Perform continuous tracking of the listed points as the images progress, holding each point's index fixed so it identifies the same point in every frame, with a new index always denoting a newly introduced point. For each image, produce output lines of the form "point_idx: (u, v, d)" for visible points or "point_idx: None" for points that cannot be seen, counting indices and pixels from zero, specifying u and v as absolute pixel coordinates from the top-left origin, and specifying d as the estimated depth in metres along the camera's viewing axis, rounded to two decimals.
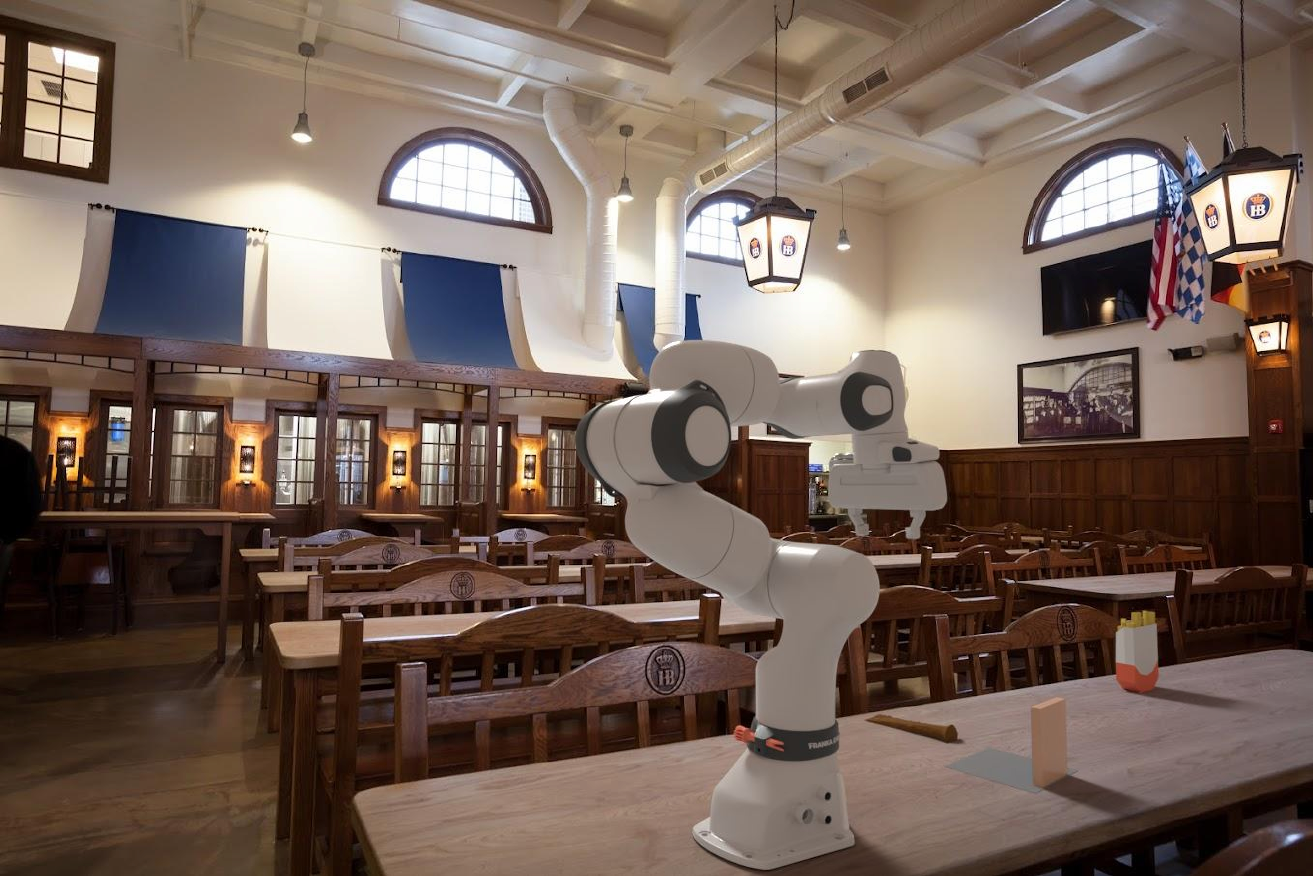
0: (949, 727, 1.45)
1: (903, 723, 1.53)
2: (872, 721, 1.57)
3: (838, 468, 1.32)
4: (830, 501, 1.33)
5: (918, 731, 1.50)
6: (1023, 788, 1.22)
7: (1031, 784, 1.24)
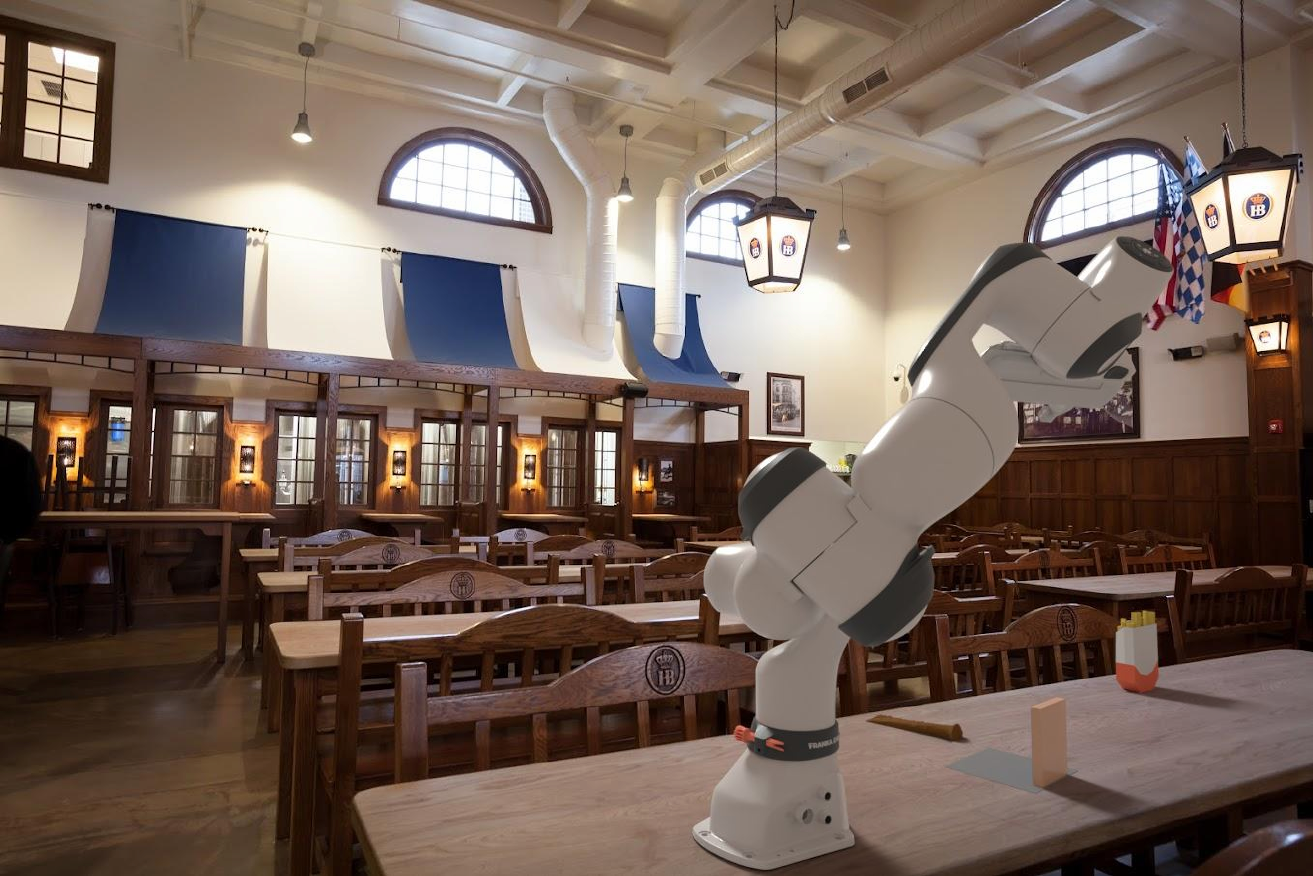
0: (955, 726, 1.46)
1: (906, 723, 1.53)
2: (874, 722, 1.57)
3: (1011, 366, 1.01)
4: None
5: (923, 730, 1.50)
6: (1023, 788, 1.22)
7: (1031, 784, 1.24)
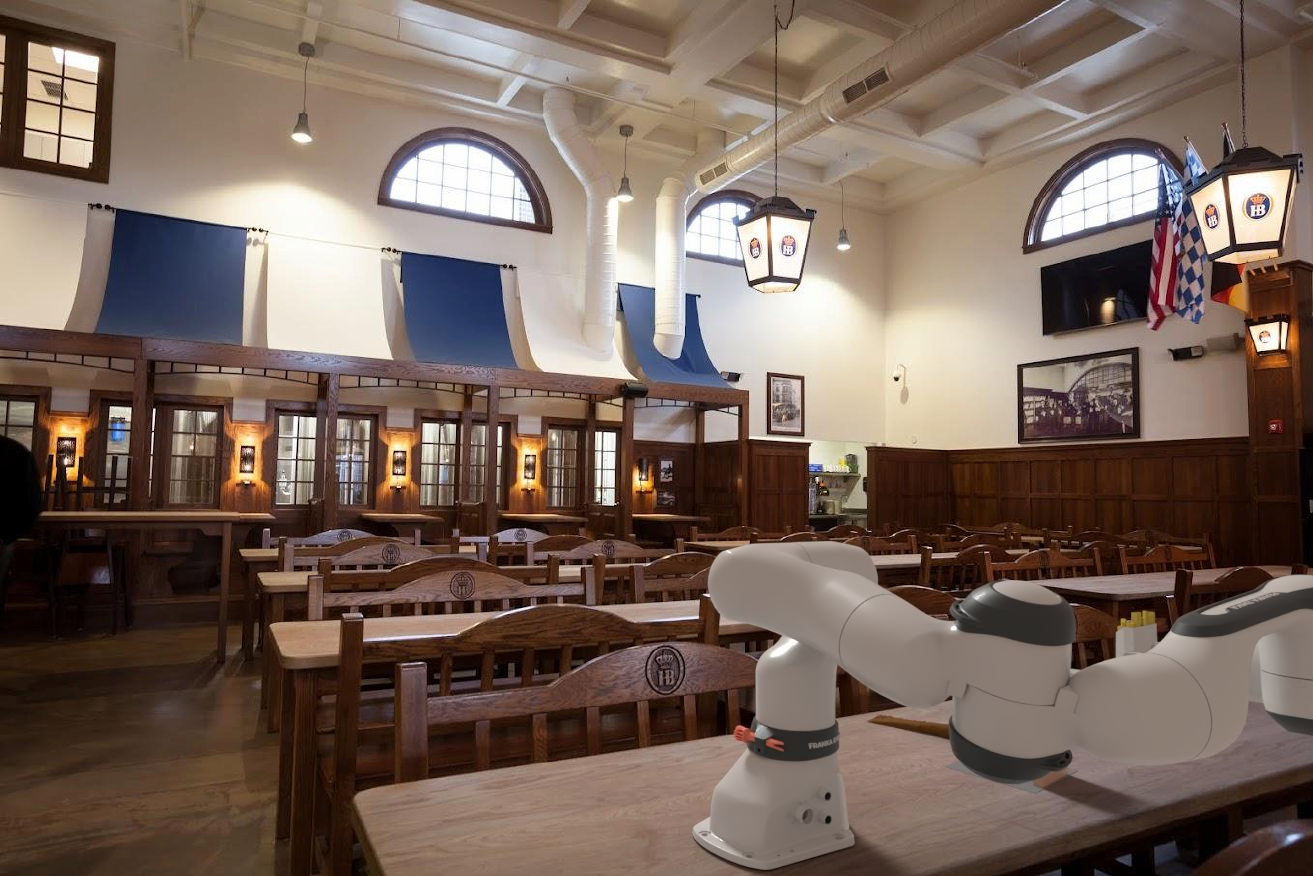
0: None
1: (909, 723, 1.53)
2: (876, 722, 1.57)
3: None
4: None
5: (926, 730, 1.50)
6: (1023, 788, 1.22)
7: (1031, 784, 1.24)
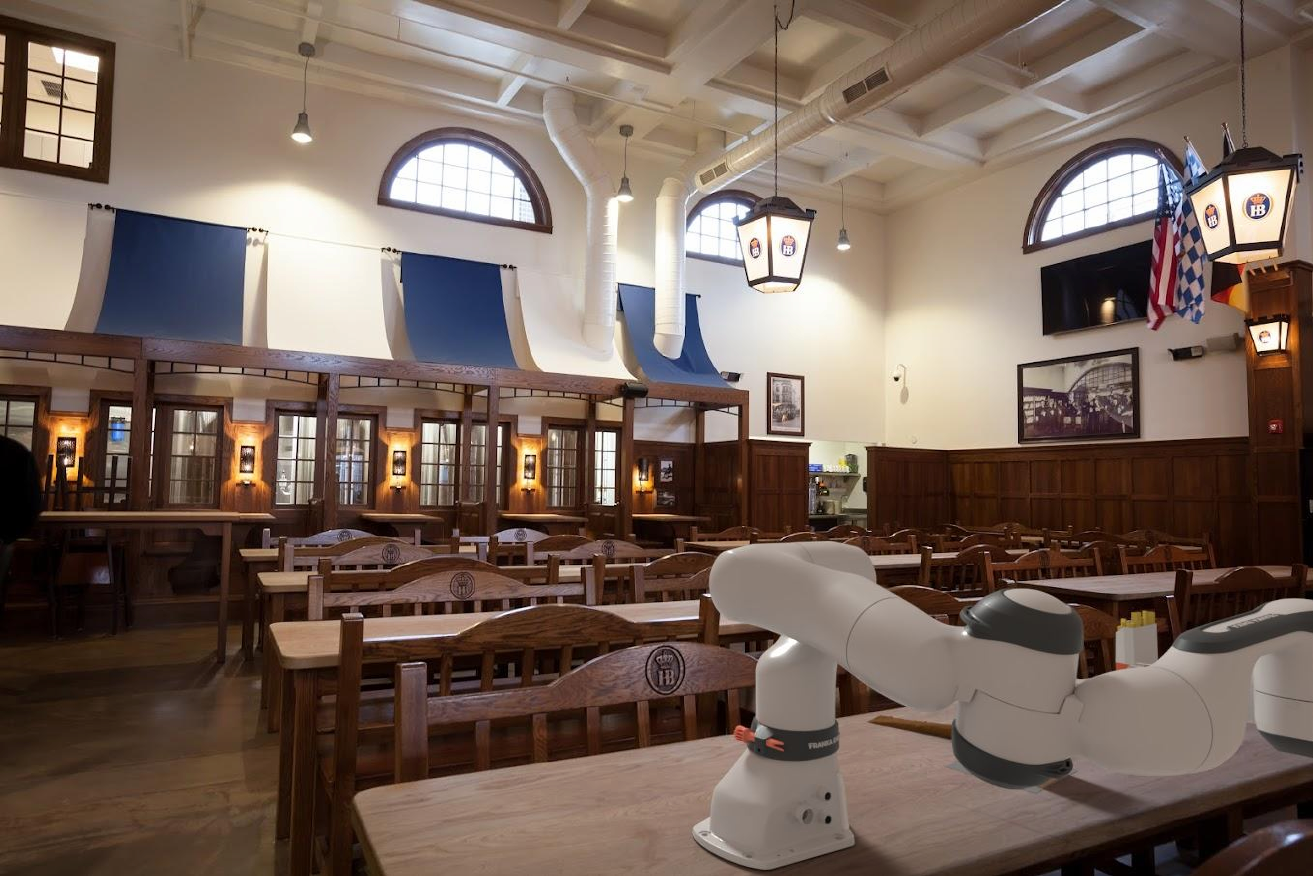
0: None
1: (910, 723, 1.52)
2: (876, 723, 1.56)
3: None
4: None
5: (927, 731, 1.50)
6: None
7: None
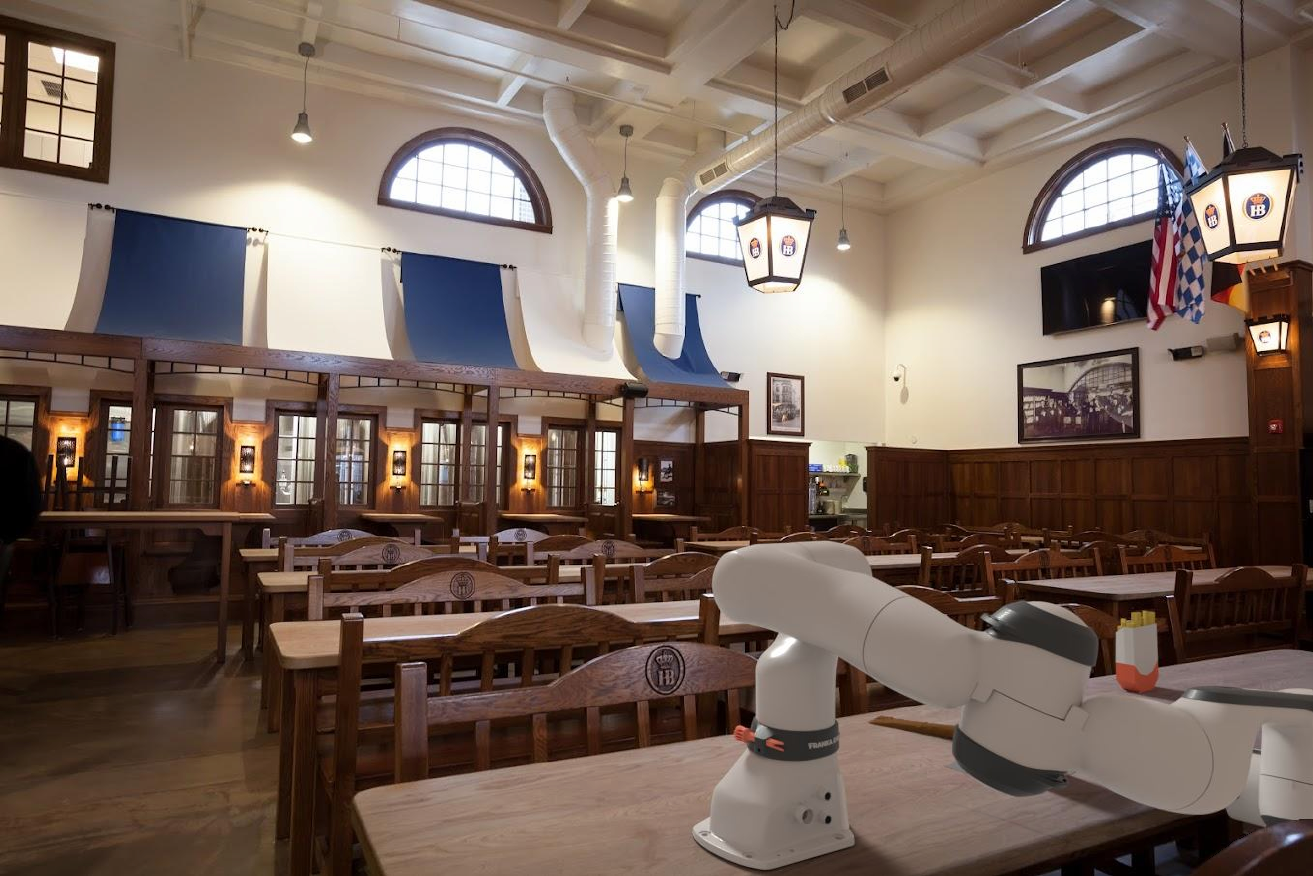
0: None
1: (910, 724, 1.52)
2: (877, 723, 1.56)
3: None
4: None
5: (928, 731, 1.49)
6: None
7: None
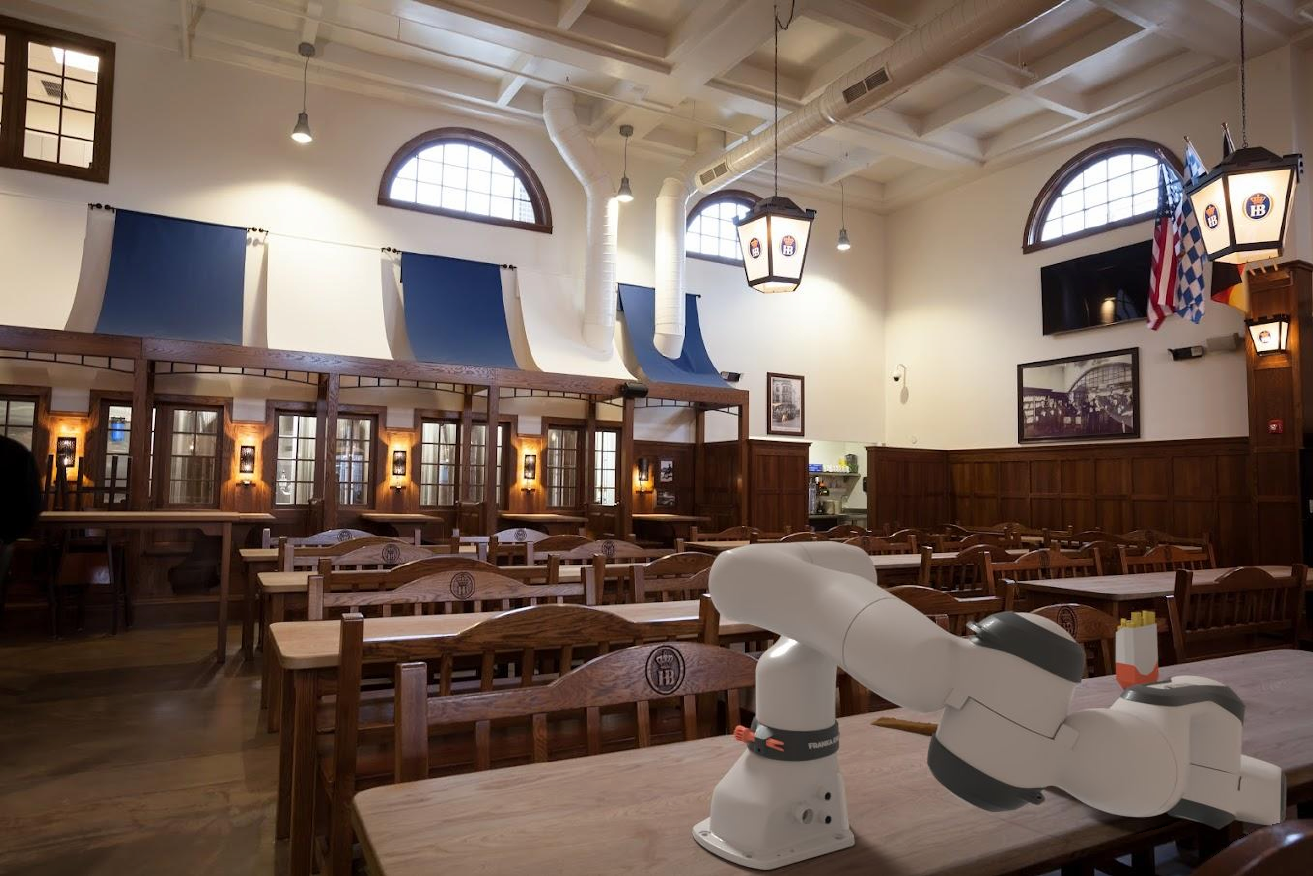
0: None
1: (914, 725, 1.51)
2: (879, 725, 1.55)
3: None
4: None
5: (931, 732, 1.49)
6: None
7: None
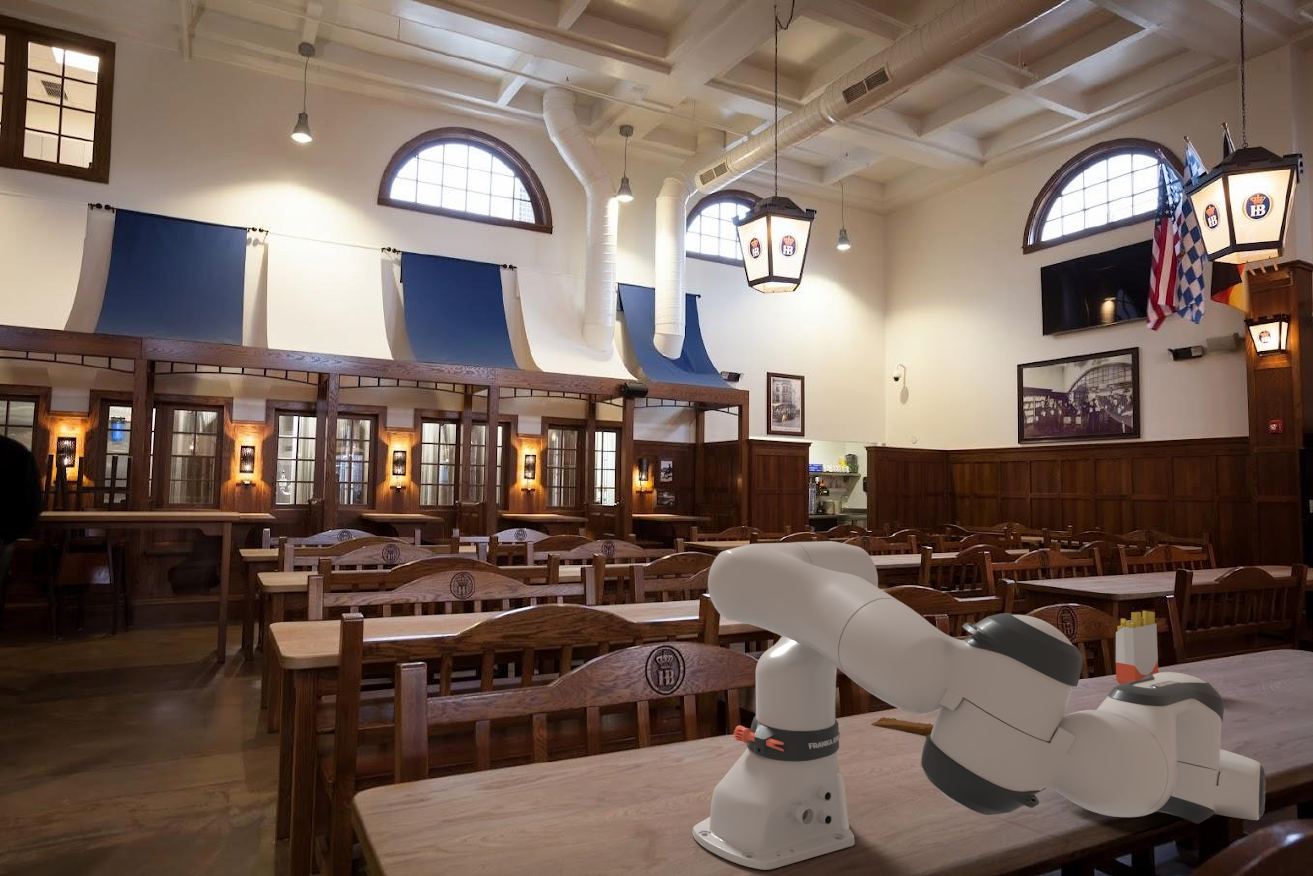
0: None
1: (914, 726, 1.51)
2: (880, 725, 1.55)
3: None
4: None
5: None
6: None
7: None
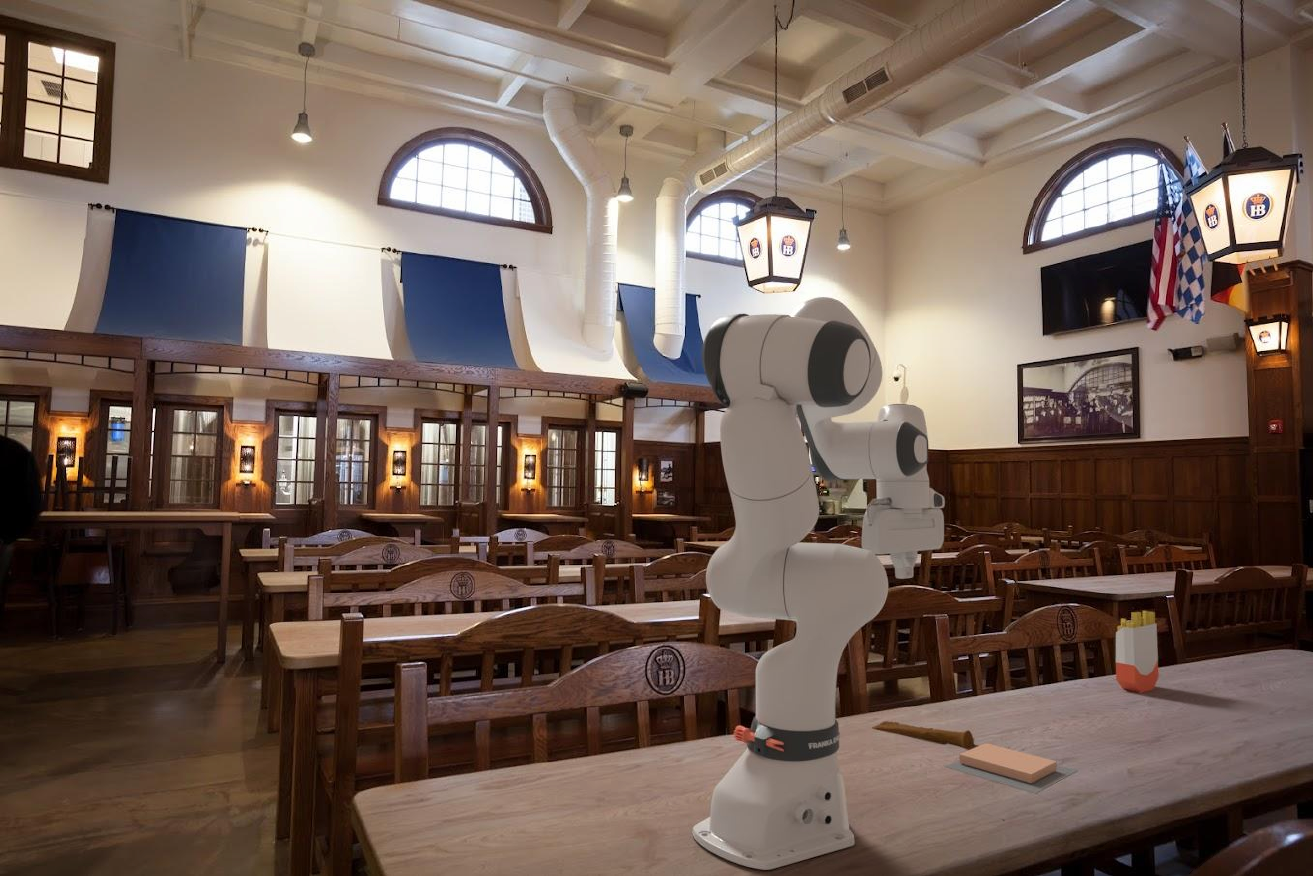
0: (966, 733, 1.42)
1: (915, 730, 1.48)
2: (881, 729, 1.52)
3: (888, 513, 1.32)
4: (881, 547, 1.30)
5: (932, 738, 1.46)
6: (1023, 788, 1.22)
7: (1031, 784, 1.24)
